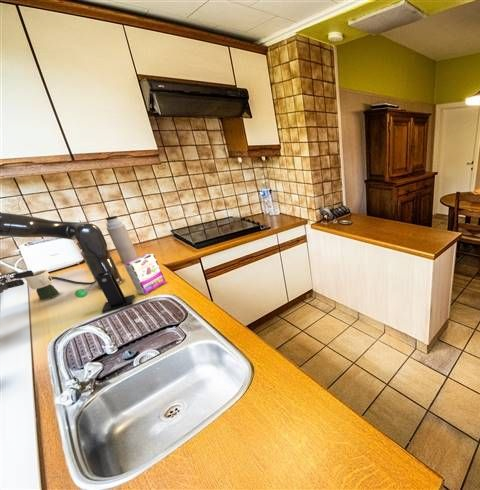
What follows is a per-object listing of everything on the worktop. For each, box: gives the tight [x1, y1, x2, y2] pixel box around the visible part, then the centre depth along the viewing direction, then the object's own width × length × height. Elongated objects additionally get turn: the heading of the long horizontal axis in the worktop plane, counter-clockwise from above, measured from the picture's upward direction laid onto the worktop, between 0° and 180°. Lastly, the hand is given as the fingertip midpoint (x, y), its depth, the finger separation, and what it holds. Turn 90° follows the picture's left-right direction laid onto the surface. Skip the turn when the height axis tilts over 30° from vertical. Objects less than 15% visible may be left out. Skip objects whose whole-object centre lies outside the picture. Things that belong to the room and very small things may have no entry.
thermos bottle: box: [105, 215, 139, 264], centre depth 158 cm, size 8×8×28 cm
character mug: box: [24, 269, 60, 301], centre depth 125 cm, size 11×7×13 cm, turn 63°
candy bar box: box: [123, 253, 167, 295], centre depth 127 cm, size 11×5×16 cm, turn 168°
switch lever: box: [74, 273, 112, 299], centre depth 112 cm, size 13×4×4 cm, turn 124°
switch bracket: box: [96, 270, 135, 314], centre depth 115 cm, size 10×8×16 cm
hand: (27, 277), depth 100 cm, fingers open, 8 cm apart
